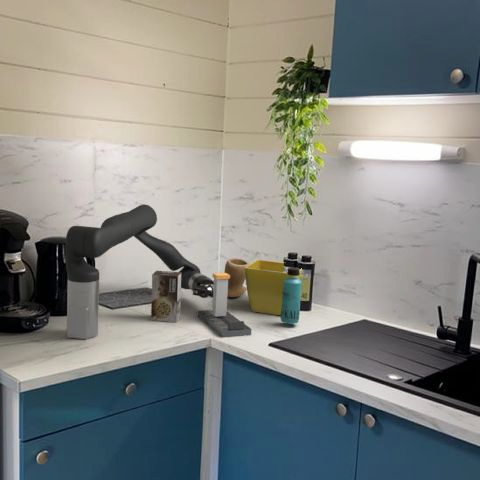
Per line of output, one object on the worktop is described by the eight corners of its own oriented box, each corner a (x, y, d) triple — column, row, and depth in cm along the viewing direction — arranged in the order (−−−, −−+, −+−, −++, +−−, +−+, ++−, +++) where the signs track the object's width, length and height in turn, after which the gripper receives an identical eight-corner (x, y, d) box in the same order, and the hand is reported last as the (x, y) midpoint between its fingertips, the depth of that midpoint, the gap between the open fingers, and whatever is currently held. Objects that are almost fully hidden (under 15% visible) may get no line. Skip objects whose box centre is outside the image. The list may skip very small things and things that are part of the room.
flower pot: (302, 307, 232) (305, 264, 229) (292, 320, 214) (296, 273, 211) (254, 301, 237) (257, 259, 234) (241, 313, 219) (244, 267, 216)
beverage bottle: (286, 321, 211) (290, 265, 208) (302, 325, 207) (307, 268, 204) (276, 325, 206) (280, 267, 203) (292, 329, 202) (297, 271, 199)
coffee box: (180, 317, 208) (182, 271, 206) (176, 322, 202) (178, 275, 199) (154, 315, 209) (156, 269, 207) (150, 320, 203) (151, 273, 200)
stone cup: (241, 301, 236) (243, 263, 233) (213, 296, 240) (215, 259, 237) (253, 293, 250) (256, 257, 248) (227, 289, 254) (229, 254, 252)
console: (251, 335, 193) (252, 321, 193) (222, 337, 189) (222, 323, 189) (223, 314, 215) (224, 302, 214) (197, 316, 211) (197, 303, 210)
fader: (227, 316, 205) (230, 275, 203) (214, 316, 203) (216, 275, 201) (223, 313, 208) (225, 272, 206) (210, 313, 206) (212, 273, 204)
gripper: (184, 275, 219) (200, 286, 203) (218, 274, 224) (236, 285, 208) (183, 295, 220) (199, 308, 204) (217, 294, 225) (235, 306, 209)
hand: (218, 296), depth 206 cm, fingers closed
